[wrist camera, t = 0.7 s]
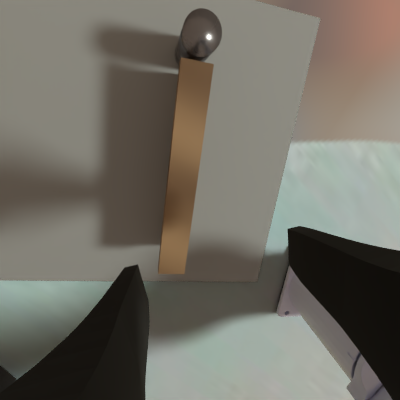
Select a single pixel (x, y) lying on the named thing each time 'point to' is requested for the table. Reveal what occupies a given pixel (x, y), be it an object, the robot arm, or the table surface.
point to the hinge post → (199, 36)
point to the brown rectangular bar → (184, 162)
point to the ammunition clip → (5, 379)
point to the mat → (140, 135)
